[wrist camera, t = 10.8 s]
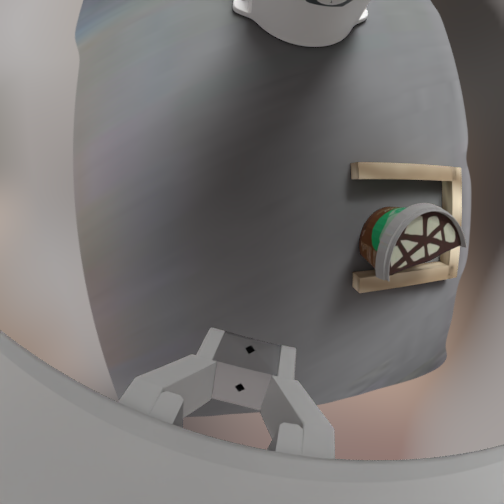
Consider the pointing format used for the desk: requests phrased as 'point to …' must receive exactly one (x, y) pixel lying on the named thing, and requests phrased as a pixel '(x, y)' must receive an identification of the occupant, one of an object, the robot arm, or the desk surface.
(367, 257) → the food container
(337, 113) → the desk surface
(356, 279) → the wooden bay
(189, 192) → the desk surface
